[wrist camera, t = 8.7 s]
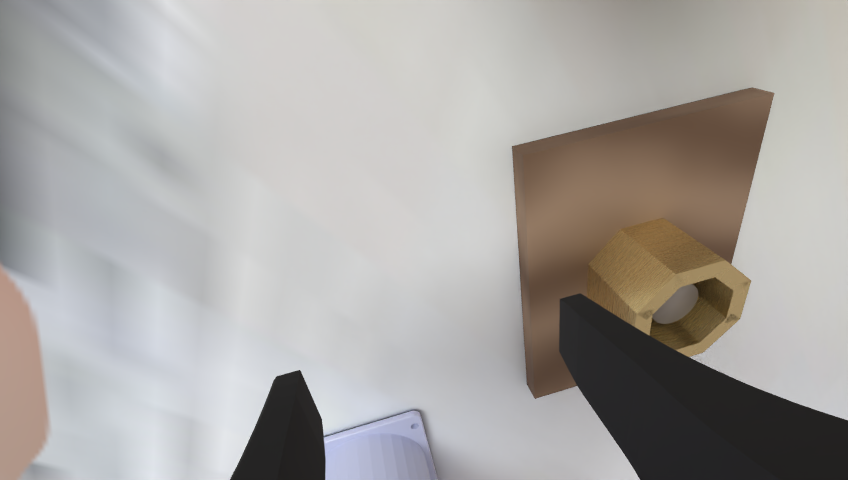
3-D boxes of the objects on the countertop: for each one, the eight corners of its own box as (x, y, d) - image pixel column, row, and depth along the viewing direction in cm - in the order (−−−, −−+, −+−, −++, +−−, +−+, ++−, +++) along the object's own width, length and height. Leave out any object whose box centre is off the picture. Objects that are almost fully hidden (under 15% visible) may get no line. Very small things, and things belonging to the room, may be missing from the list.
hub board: (697, 332, 30) (749, 380, 26) (526, 383, 28) (557, 441, 25) (752, 87, 21) (841, 109, 18) (512, 146, 20) (556, 182, 16)
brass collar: (676, 294, 25) (733, 343, 22) (585, 321, 25) (629, 375, 22) (692, 209, 22) (760, 250, 19) (589, 237, 22) (640, 284, 19)
